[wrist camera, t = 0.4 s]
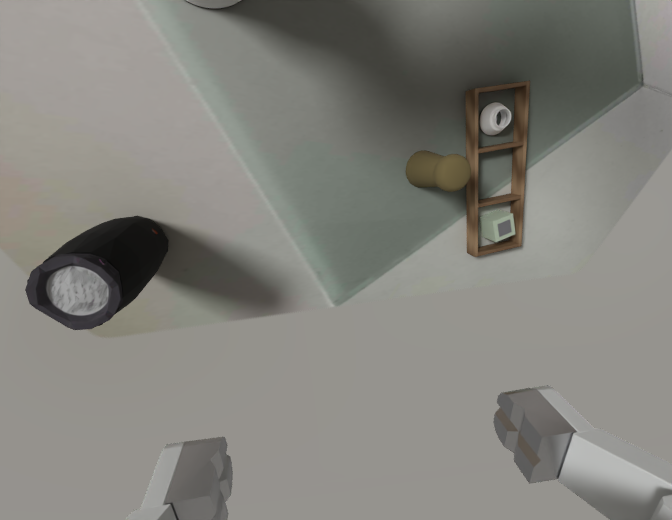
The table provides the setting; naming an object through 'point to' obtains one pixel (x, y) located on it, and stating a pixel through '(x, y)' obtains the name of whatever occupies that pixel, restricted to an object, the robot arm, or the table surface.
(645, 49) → the table surface
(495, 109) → the lidless jar
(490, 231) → the cube with grey panel
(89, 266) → the portable speaker
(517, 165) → the organiser
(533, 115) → the table surface
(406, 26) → the table surface
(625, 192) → the table surface
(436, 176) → the cork
